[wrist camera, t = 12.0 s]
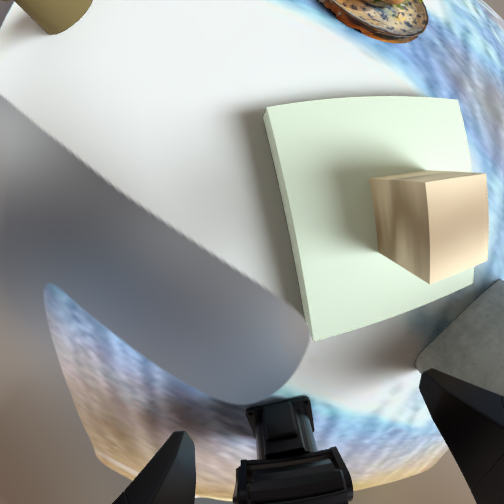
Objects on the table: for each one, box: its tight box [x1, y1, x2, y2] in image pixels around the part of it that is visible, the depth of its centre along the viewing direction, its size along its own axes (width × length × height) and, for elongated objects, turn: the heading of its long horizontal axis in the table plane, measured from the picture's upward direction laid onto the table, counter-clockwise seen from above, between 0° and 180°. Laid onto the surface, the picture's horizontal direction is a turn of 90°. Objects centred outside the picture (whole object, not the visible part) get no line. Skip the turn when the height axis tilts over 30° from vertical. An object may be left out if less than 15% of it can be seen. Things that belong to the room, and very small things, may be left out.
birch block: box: [369, 170, 489, 285], centre depth 13 cm, size 5×5×6 cm
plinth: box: [263, 96, 474, 342], centre depth 18 cm, size 16×16×3 cm
